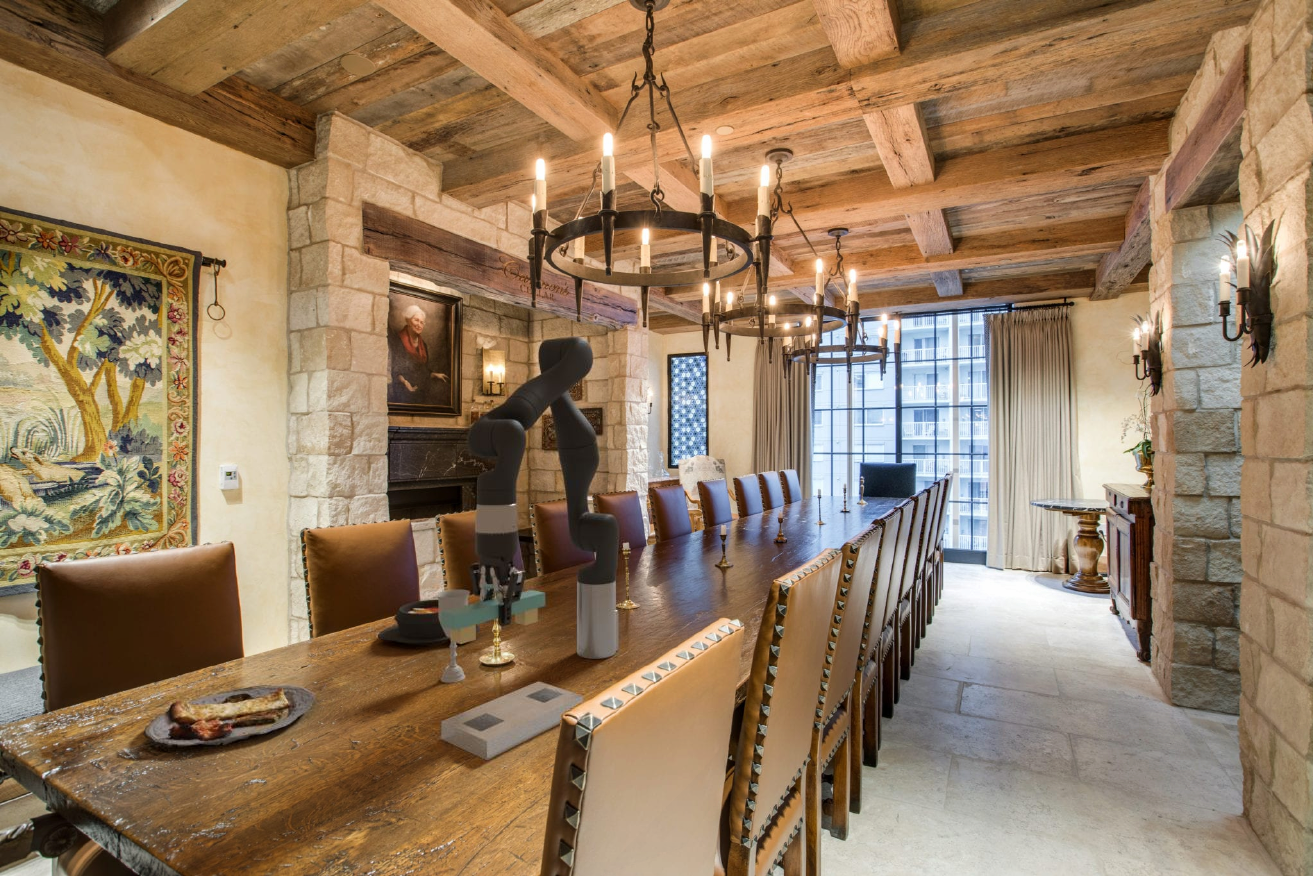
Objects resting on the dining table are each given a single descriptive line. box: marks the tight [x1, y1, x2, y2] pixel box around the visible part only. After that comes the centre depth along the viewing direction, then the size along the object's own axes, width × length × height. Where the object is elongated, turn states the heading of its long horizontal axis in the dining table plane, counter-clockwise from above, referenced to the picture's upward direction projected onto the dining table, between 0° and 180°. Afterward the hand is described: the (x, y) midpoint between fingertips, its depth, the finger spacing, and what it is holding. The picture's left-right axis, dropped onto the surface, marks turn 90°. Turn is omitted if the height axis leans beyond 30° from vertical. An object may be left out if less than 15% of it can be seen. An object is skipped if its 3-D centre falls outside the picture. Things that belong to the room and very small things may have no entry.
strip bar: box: [441, 589, 546, 645], centre depth 113 cm, size 20×4×5 cm, turn 142°
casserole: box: [377, 599, 481, 646], centre depth 160 cm, size 25×19×8 cm
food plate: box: [143, 684, 315, 748], centre depth 112 cm, size 25×23×4 cm
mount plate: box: [440, 681, 584, 761], centre depth 110 cm, size 22×12×3 cm, turn 144°
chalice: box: [435, 589, 471, 684], centre depth 133 cm, size 7×7×18 cm
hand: (496, 622), depth 113 cm, fingers closed on strip bar, 4 cm apart
